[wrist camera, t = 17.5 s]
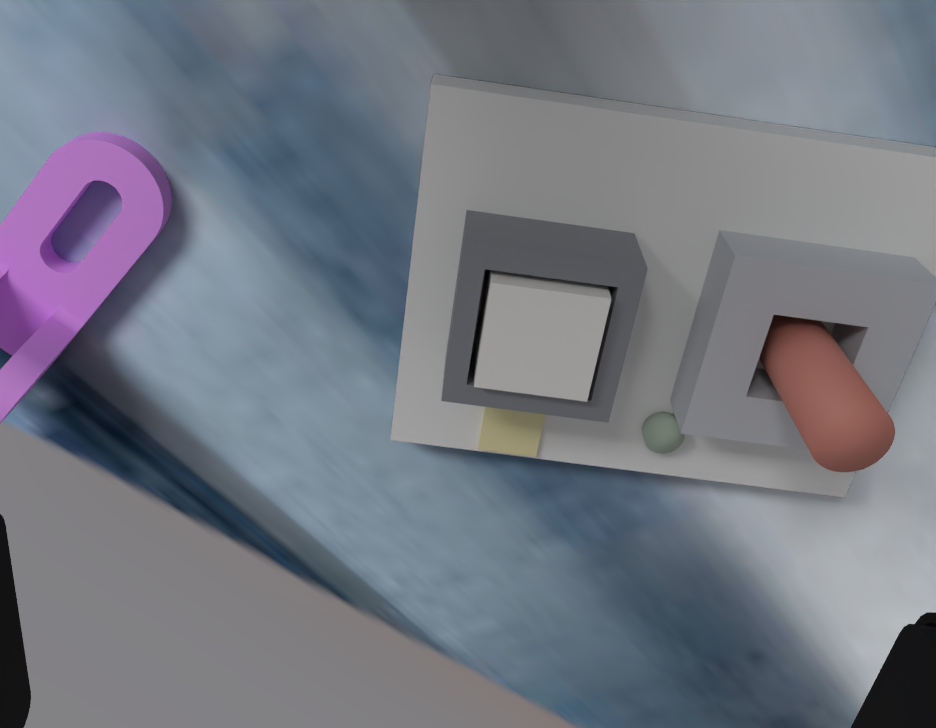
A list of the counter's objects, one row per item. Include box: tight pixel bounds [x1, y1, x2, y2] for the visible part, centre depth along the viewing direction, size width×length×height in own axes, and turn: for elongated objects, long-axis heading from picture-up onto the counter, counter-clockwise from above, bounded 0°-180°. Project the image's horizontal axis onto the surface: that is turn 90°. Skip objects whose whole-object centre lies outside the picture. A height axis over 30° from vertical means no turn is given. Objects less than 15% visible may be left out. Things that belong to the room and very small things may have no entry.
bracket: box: [0, 132, 172, 423], centre depth 40 cm, size 13×6×7 cm, turn 136°
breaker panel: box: [391, 74, 936, 498], centre depth 41 cm, size 18×24×6 cm
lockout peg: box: [759, 315, 895, 472], centre depth 38 cm, size 3×3×9 cm
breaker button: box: [474, 270, 611, 402], centre depth 40 cm, size 5×5×4 cm
